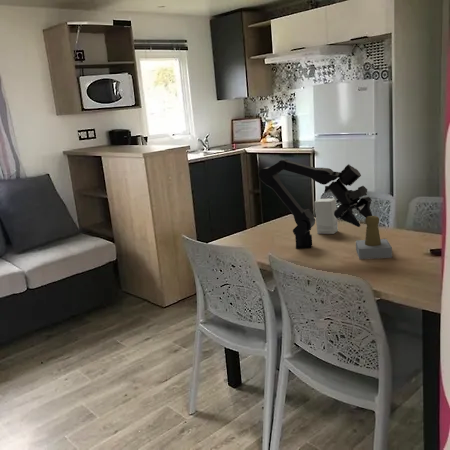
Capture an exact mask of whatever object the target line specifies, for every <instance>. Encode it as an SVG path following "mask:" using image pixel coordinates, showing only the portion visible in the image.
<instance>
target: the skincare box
mask: <svg viewBox="0 0 450 450" xmlns="http://www.w3.org/2000/svg"><path fill="white" fill-rule="evenodd" d="M336 201H337V199H336V198H318V199H316V200H315V201H314V210H315V224H316V233H317V234H319V235H320V234H322V235H323V234H324V235H334V234H335V233H337V232H338V231H339V225H338V219H337V218H336V217H335V216H334V211H335V210H336V209H337V202H336Z"/></svg>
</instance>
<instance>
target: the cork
mask: <svg viewBox="0 0 450 450" xmlns="http://www.w3.org/2000/svg"><path fill="white" fill-rule="evenodd" d="M364 222H365V224H366V229H365V231H366V232H365V238H364V240H365V245H367V246H378V245H380V244H381V241H380V239H381V236H380V230H379V224H380V217H378V216H377V215H372V216H368V217H365V220H364Z"/></svg>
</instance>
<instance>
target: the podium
mask: <svg viewBox="0 0 450 450" xmlns="http://www.w3.org/2000/svg"><path fill="white" fill-rule="evenodd" d="M380 241H381V244H380V245H378V246H367V245H365V239H362V240H361V239H359V240H355V252H356V254H357V256H358V259H359V260H369V259H370V260H371V259H374V260H376V259H392V258H393V247H392V245H391V244H390V241H389V240H388V239H387V238H380Z"/></svg>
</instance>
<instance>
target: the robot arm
mask: <svg viewBox="0 0 450 450" xmlns="http://www.w3.org/2000/svg"><path fill="white" fill-rule="evenodd" d="M282 171H286V172H291V173H294V174H297V175H301V176H303V177H306V178H309V179H311V180H313V181H314V182H316V183H319V184H320V185H324V190H323V192H324V193H328V194H329V193H331V194H332V195H333V196H334V198H335V199H336V204H339V203H340V204H339V206H338V207H336V210H335V211H334V216H335V217H336V218H337V220H338V219H339V220H341V221H344V222H347V223H349V224H351V225H353V226H355V227H358V228H360V227H361V224H360V222H359V221H358V219H357V217H356V216H355V214H354V213H353V210H356V211H358V213H359V214H360V215H362V217H364V218H366V217H368V216H373V214H372V211H371V204H372V202H373V200H372V198H371V197H370V196H367V195H368V188H366V186H364V185H362V186H359V187H357V189H355V190H352V189H351V190H349V188H347V187H348V186H352V185H353V184H354V183H356V182H357V181H358V179H360V177H362V175H361V172H360V171H359V170H358V169H357V168H355V167H354V166H353V165H352V166H351V164H349V163H348V164H347V165H345V167H344V168H343V169H342V170H341V171H340V172H339V171H334V170H333V169H331V168H328V167H314V166H310V165H305V164H303V163H299V162H296V161H292V160H288V159H286V158H284V159H281V160H278V162H276V163H274V164H273V165H271V166H266V167H264V168H262V169H261V170H260V171H259V172H258V178H259V180H260V181H261V182H262V183H263V184H264V185H265V186H267V187H269V188H270V189H272V190H273V191H274V193H276V195H277V197H279V199H280V200H281V202H282V203H283V204H284V205H285V207H286V208H287V209H288V210H289V212H291V214H292V216H293V219H294V221H295V224H296V226H295V227H294V228H293V229H292V232H293V235H294V236H295V238H294V239H295V249H311V248H312V246H313V237H312V235H313V234H311V230H312V228H313V227H314V226H315V224H316V217H315V215H314V213H312V212H311V210H310V208H307V209H304V208H302V206H301V205H300V203H298V201H297V200H296V199H295V198H294V196H293V195H292V194H291V192H289V190H288V188H286V187H285V185H284V184H283V182H282V181H281V178H280V175H279V173H281V172H282ZM327 184H328V185H327ZM361 197H362V198H361Z"/></svg>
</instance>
